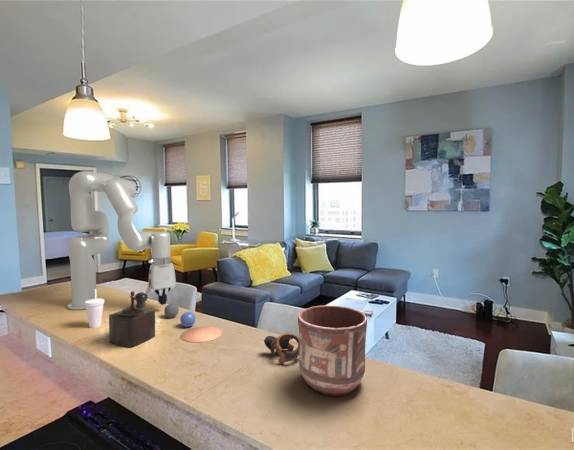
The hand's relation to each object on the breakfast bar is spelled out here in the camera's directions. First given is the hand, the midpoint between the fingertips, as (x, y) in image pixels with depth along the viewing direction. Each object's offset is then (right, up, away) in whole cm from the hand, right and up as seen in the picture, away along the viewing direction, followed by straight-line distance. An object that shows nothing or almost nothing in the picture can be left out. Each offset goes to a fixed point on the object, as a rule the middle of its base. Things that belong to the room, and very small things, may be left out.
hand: (162, 303), depth 139 cm
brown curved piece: (+52, -7, -40) cm, 66 cm away
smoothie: (-19, -4, -17) cm, 26 cm away
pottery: (+64, -8, -55) cm, 85 cm away
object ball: (+16, -2, -17) cm, 23 cm away
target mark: (+23, -5, -24) cm, 33 cm away
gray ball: (+6, -1, -7) cm, 9 cm away
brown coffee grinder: (+3, -6, -30) cm, 30 cm away
